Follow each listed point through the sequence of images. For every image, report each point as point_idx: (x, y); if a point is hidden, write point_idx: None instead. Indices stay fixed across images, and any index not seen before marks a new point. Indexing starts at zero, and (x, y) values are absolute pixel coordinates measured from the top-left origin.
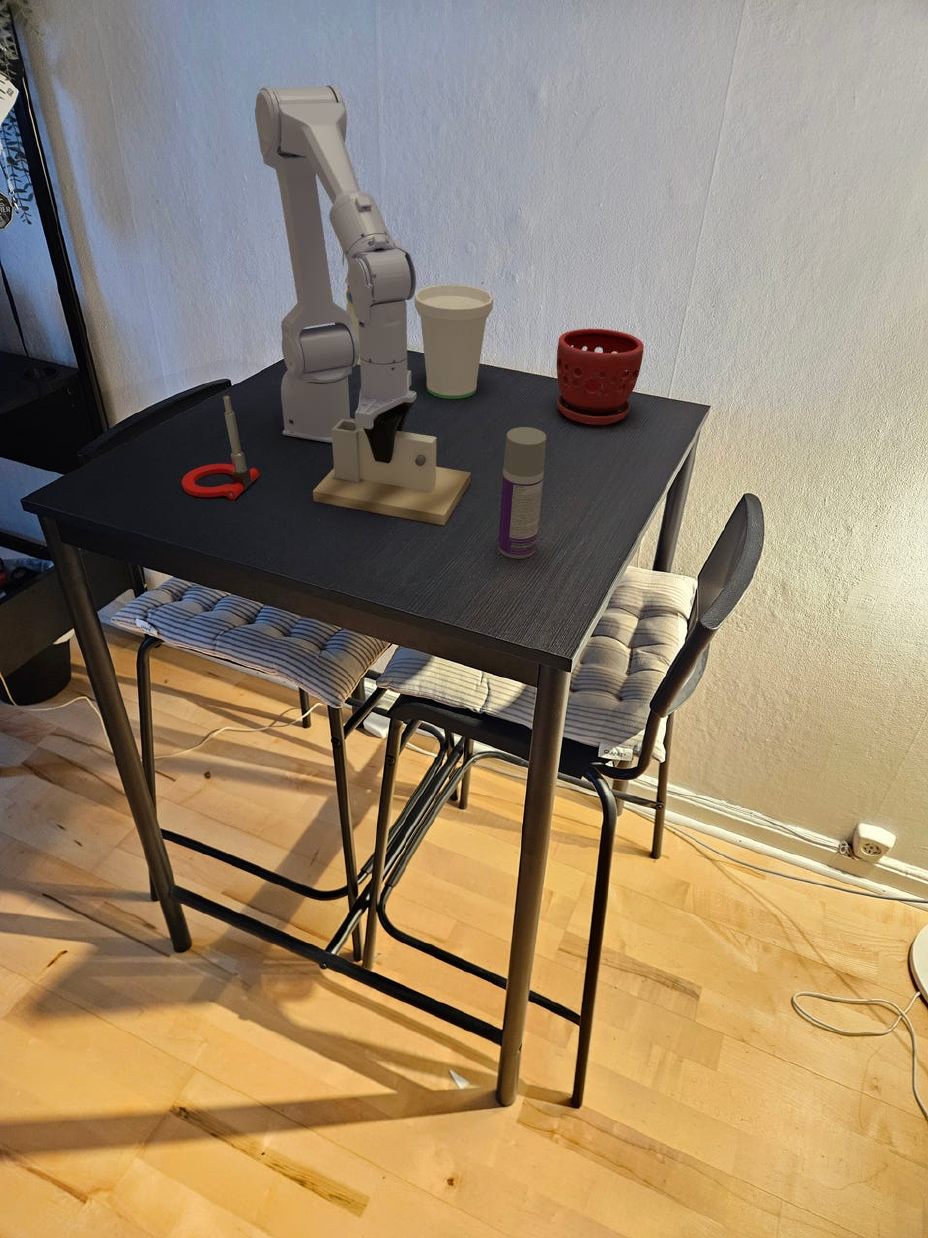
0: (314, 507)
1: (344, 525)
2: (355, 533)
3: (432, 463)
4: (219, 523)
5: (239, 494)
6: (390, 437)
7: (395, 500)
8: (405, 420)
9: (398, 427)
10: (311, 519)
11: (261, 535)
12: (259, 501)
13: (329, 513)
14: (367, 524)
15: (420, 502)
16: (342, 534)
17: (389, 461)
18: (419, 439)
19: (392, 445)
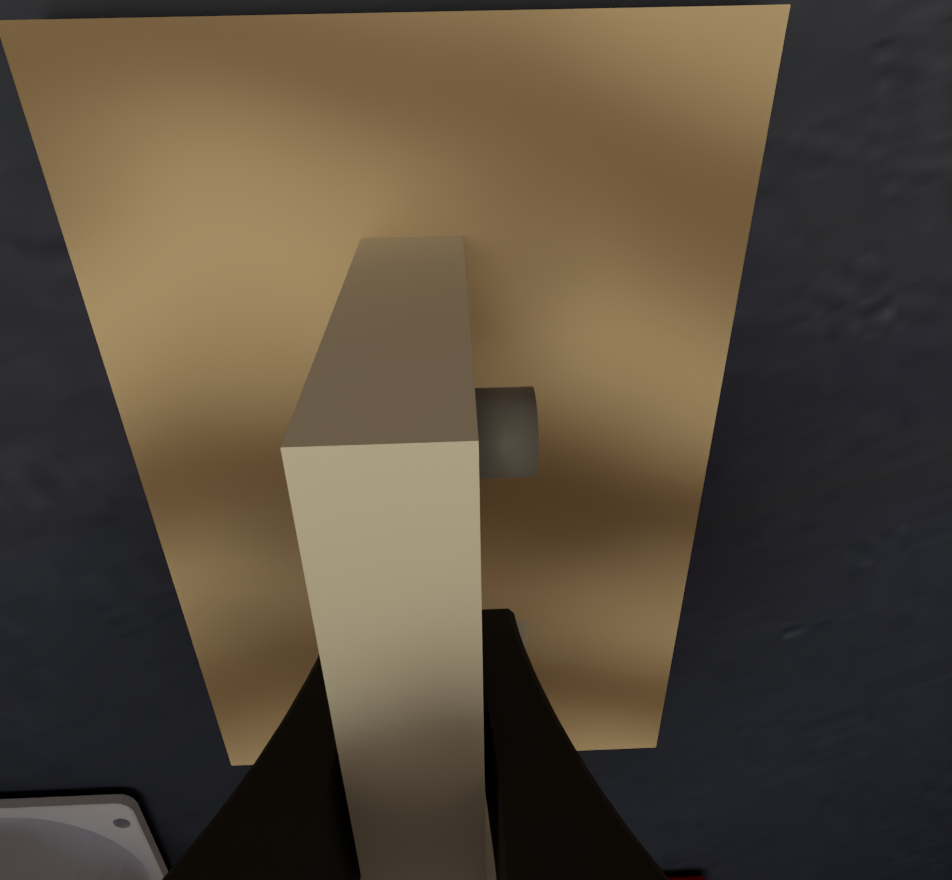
0: (691, 683)
1: (826, 538)
2: (898, 472)
3: (451, 320)
4: (859, 848)
5: (672, 878)
6: (620, 818)
7: (651, 411)
8: (203, 844)
9: (329, 822)
10: (792, 658)
11: (932, 741)
12: (690, 823)
13: (729, 623)
14: (803, 454)
15: (637, 257)
16: (910, 517)
17: (511, 618)
18: (441, 590)
19: (535, 718)
